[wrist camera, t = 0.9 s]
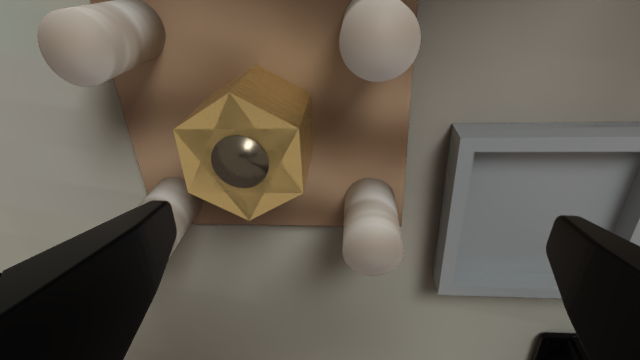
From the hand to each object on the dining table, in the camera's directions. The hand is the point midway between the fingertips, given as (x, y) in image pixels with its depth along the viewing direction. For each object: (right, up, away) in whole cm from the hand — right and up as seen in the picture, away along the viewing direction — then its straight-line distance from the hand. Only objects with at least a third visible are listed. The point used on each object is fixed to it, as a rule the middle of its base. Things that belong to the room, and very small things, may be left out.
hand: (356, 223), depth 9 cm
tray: (+12, -1, +15) cm, 19 cm away
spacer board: (-4, +5, +13) cm, 15 cm away
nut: (-4, +4, +13) cm, 14 cm away
